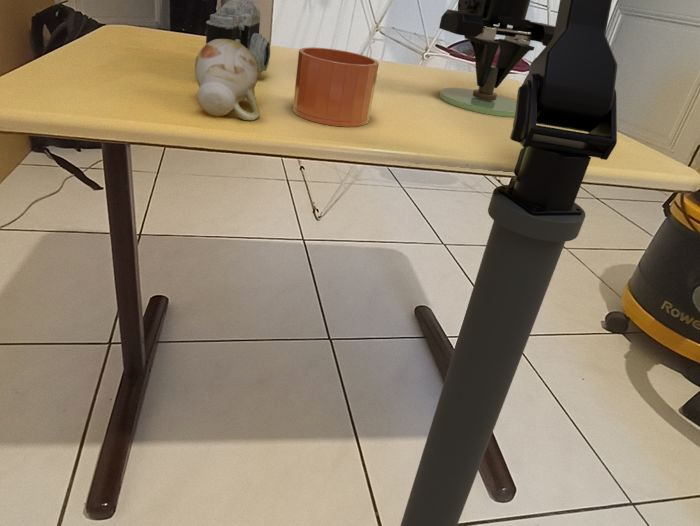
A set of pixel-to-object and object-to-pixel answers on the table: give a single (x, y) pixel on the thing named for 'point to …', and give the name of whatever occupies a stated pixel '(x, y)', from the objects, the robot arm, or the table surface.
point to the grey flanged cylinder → (488, 85)
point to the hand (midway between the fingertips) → (486, 86)
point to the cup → (334, 86)
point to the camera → (240, 29)
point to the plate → (479, 102)
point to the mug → (226, 78)
